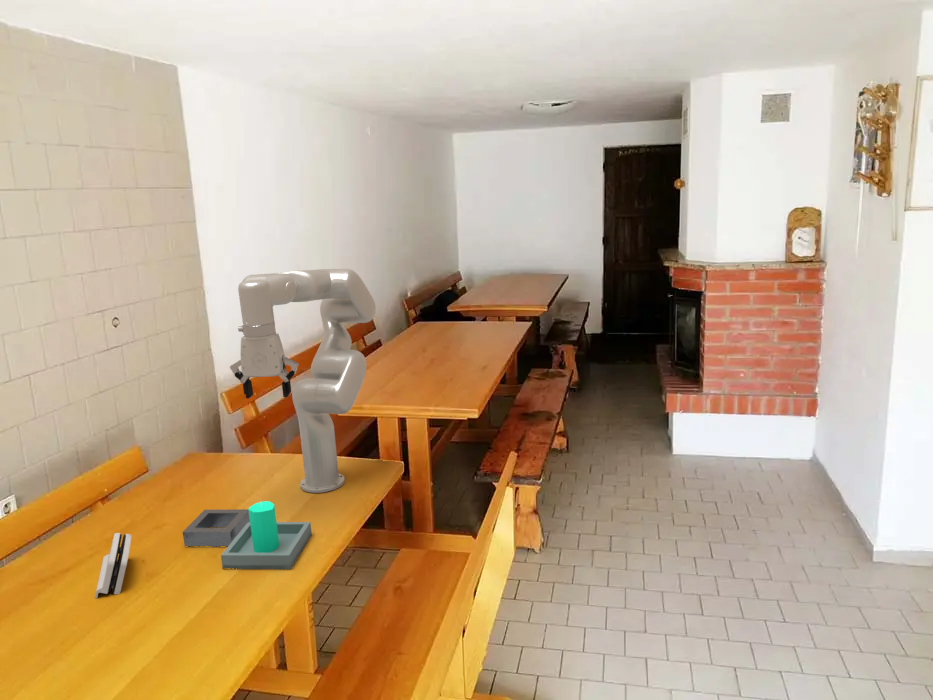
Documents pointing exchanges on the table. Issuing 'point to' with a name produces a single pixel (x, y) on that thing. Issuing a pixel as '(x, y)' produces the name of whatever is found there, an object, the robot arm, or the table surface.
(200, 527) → the holder
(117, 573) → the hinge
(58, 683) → the table surface
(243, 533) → the tray
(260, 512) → the candle
